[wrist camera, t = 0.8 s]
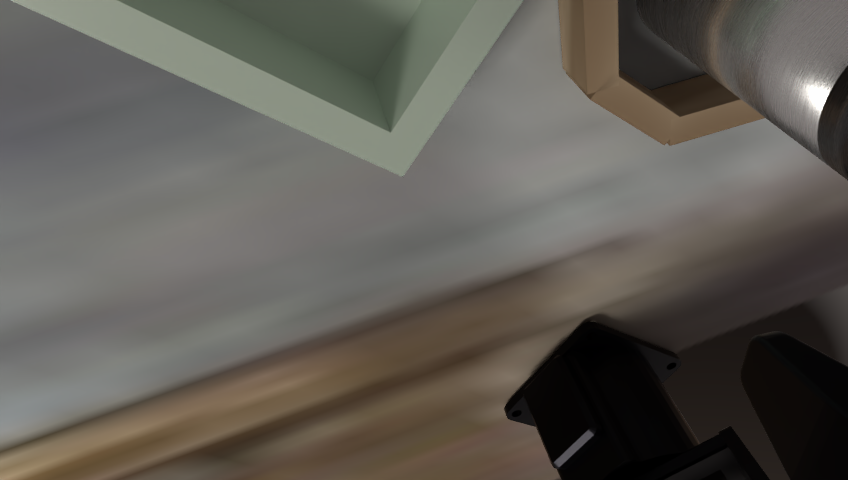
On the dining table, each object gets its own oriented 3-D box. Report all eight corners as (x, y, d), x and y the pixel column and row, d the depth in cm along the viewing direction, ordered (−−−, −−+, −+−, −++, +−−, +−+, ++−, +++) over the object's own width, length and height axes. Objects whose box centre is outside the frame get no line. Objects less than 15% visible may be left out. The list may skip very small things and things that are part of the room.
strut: (782, -48, 21) (1100, 88, 13) (691, 60, 22) (925, 237, 15) (703, -123, 19) (1021, -17, 11) (610, 1, 21) (830, 168, 13)
